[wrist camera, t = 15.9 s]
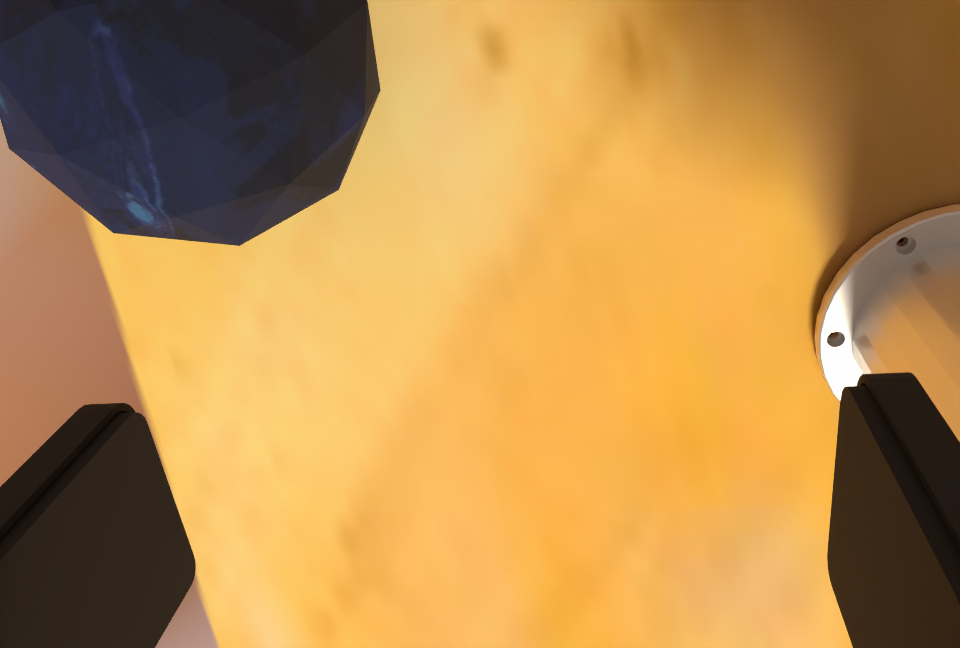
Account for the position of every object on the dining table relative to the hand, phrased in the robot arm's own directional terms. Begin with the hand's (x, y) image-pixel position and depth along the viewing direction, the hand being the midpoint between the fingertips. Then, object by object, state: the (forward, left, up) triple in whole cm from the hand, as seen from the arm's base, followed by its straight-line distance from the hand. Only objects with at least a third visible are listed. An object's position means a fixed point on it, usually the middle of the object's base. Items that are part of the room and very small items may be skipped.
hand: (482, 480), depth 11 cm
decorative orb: (+14, -3, -31) cm, 34 cm away
